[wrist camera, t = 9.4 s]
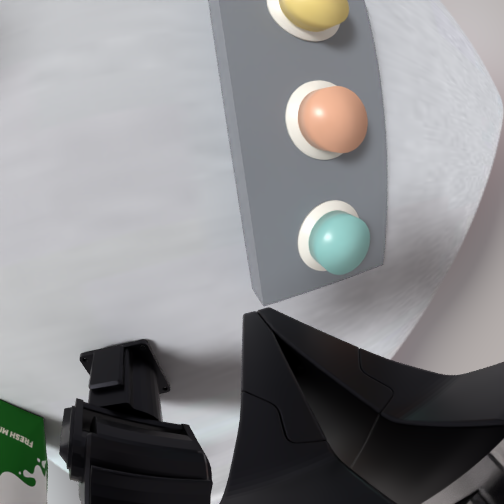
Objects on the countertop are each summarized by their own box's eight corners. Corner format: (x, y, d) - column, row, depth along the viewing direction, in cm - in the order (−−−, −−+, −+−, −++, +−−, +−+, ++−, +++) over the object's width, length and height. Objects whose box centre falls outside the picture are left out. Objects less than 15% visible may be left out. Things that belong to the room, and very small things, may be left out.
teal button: (355, 256, 20) (368, 265, 19) (309, 271, 19) (321, 282, 18) (356, 205, 18) (370, 211, 17) (306, 216, 18) (319, 224, 16)
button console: (365, 253, 24) (384, 265, 22) (252, 289, 22) (264, 307, 20) (340, -10, 14) (360, -20, 12) (205, -22, 12) (213, -41, 9)
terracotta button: (354, 148, 17) (369, 150, 15) (301, 154, 16) (315, 156, 14) (348, 89, 15) (364, 87, 14) (293, 89, 14) (306, 85, 13)
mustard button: (339, 35, 13) (354, 29, 12) (283, 29, 12) (296, 21, 11) (328, -12, 12) (342, -20, 10) (273, -21, 11) (284, -31, 9)
